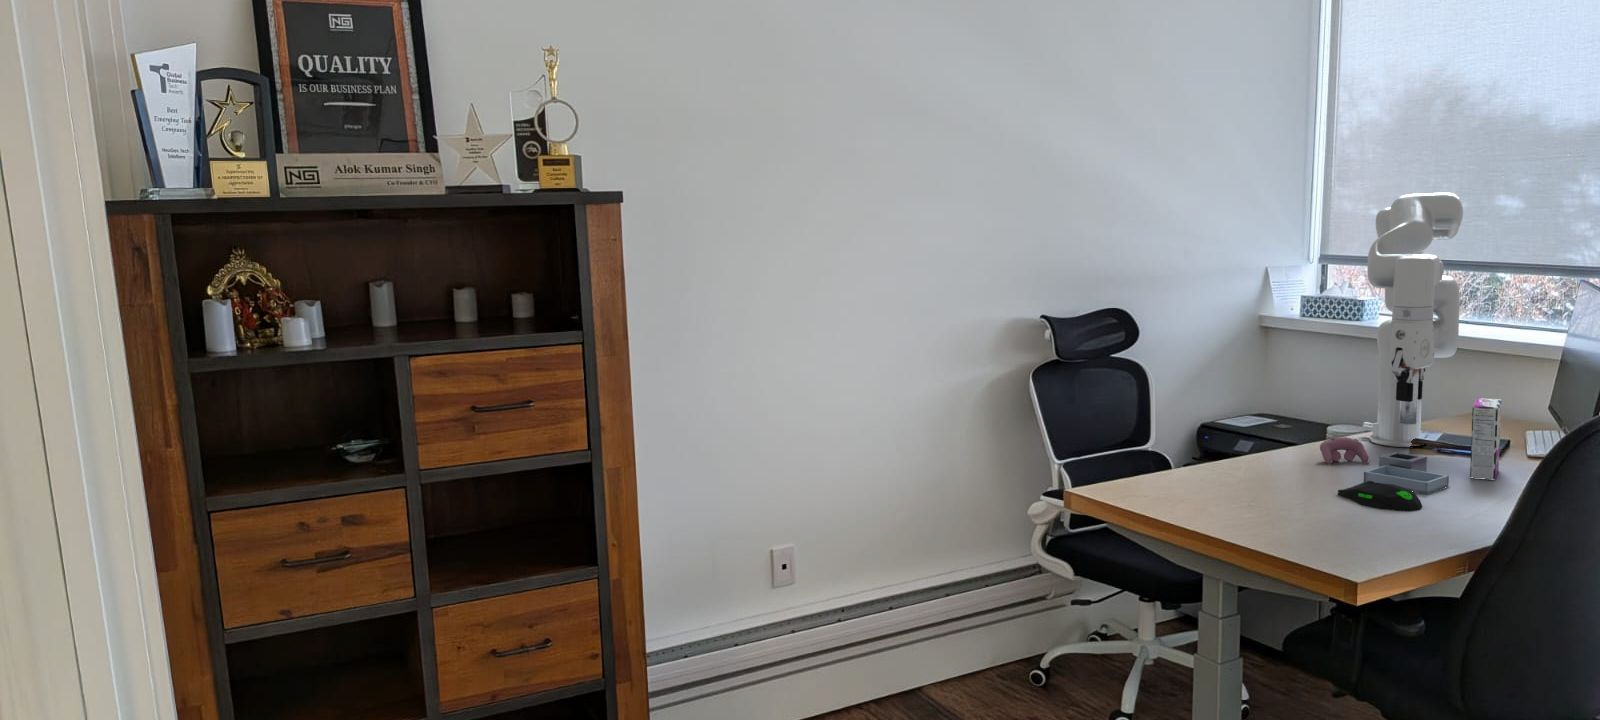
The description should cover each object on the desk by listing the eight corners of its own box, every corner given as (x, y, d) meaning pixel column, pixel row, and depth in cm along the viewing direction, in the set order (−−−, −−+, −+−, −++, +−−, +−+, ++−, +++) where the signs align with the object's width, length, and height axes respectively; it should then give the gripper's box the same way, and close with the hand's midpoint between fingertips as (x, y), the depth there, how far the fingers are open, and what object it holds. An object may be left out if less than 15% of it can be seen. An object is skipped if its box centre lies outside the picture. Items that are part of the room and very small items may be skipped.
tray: (1363, 482, 226) (1363, 471, 226) (1384, 475, 232) (1385, 465, 231) (1427, 494, 216) (1427, 482, 215) (1448, 487, 221) (1448, 475, 220)
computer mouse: (1389, 516, 203) (1390, 496, 202) (1325, 496, 219) (1325, 477, 218) (1435, 510, 206) (1436, 490, 206) (1368, 490, 222) (1369, 472, 221)
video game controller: (1363, 467, 246) (1358, 438, 248) (1371, 463, 242) (1366, 434, 244) (1320, 468, 247) (1315, 439, 249) (1327, 463, 243) (1322, 434, 245)
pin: (1391, 422, 222) (1393, 363, 221) (1402, 420, 225) (1404, 361, 223) (1413, 425, 218) (1416, 365, 217) (1424, 423, 221) (1427, 363, 219)
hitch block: (1378, 473, 234) (1378, 456, 233) (1393, 468, 237) (1394, 451, 237) (1410, 479, 228) (1411, 461, 227) (1426, 474, 232) (1426, 456, 231)
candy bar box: (1472, 468, 236) (1476, 397, 234) (1498, 470, 233) (1502, 399, 231) (1468, 478, 227) (1471, 405, 225) (1495, 481, 224) (1499, 407, 222)
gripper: (1411, 318, 211) (1408, 406, 213) (1450, 312, 220) (1446, 397, 222) (1374, 316, 217) (1371, 402, 220) (1413, 311, 226) (1409, 393, 229)
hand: (1408, 399), depth 221 cm, fingers closed on pin, 3 cm apart
